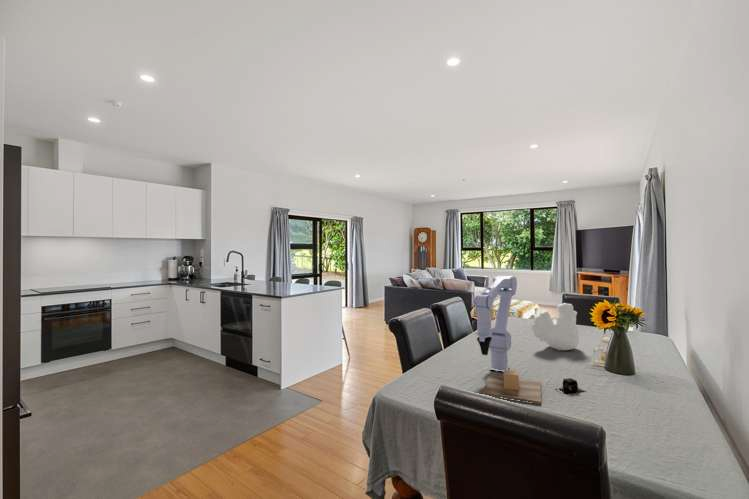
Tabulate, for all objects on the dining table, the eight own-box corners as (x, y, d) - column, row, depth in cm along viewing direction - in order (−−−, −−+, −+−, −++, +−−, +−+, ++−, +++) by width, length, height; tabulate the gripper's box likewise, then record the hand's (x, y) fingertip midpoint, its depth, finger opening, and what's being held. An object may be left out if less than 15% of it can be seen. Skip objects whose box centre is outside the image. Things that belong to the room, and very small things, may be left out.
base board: (489, 377, 144) (489, 374, 144) (540, 384, 135) (540, 381, 135) (482, 395, 126) (482, 392, 126) (541, 405, 117) (540, 401, 117)
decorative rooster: (572, 344, 188) (571, 300, 188) (586, 353, 173) (584, 305, 173) (526, 344, 192) (524, 301, 192) (535, 352, 176) (533, 305, 177)
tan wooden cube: (505, 383, 134) (504, 369, 134) (519, 385, 132) (518, 371, 132) (504, 388, 130) (503, 373, 130) (518, 390, 127) (518, 375, 127)
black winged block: (563, 397, 124) (562, 385, 124) (549, 389, 131) (549, 378, 131) (591, 393, 126) (591, 381, 127) (576, 386, 134) (576, 374, 134)
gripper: (477, 319, 151) (478, 349, 151) (471, 325, 138) (472, 358, 138) (493, 320, 148) (494, 350, 148) (489, 326, 135) (490, 360, 135)
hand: (484, 354), depth 143 cm, fingers closed
